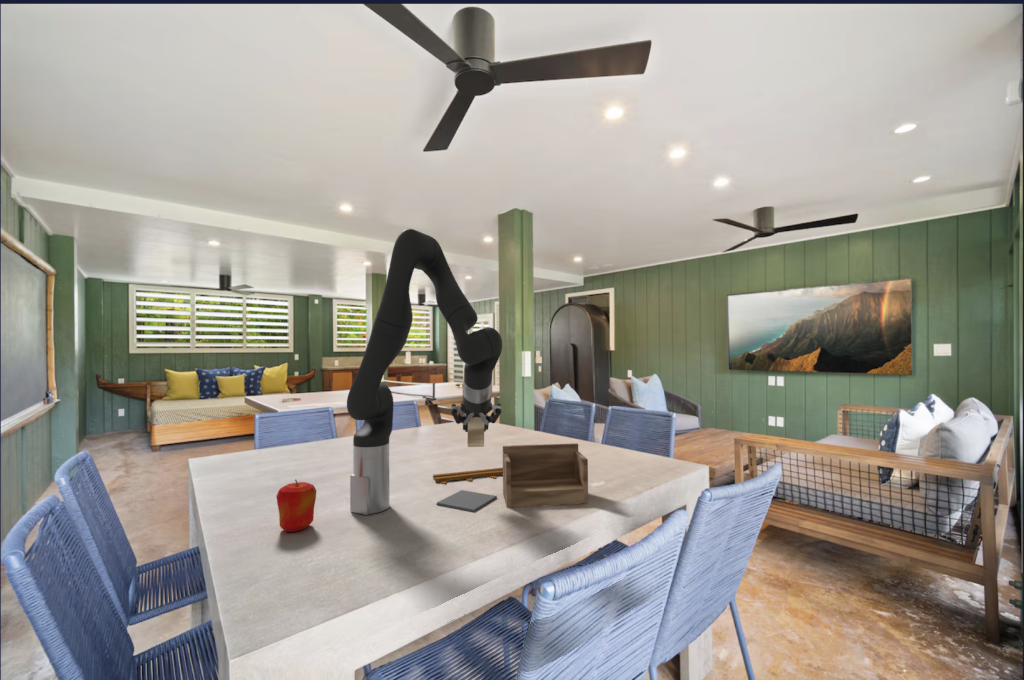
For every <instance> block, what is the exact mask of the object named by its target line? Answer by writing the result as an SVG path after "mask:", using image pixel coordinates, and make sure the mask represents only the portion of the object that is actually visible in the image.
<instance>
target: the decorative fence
mask: <svg viewBox="0 0 1024 680" xmlns="http://www.w3.org/2000/svg"><path fill="white" fill-rule="evenodd" d="M500 475H502V476H503V467H495V468H485V469H478V470H467V471H456V472H449V473H448V472H445V473H439V474H432V478H433V480H434V481H435V483H437V482H439V481H440V482H439V483H440V484H441V485H443V484H445V485H447V481H455V480H463V479H465V480H466V482H468V483H469V482H470V481H471V482H472V481H473V478H479V477H480V478H481V477H489V478H490V477H491V479H492V478H493V480H495V479H497V476H500Z"/></svg>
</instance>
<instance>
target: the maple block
mask: <svg viewBox="0 0 1024 680" xmlns="http://www.w3.org/2000/svg"><path fill="white" fill-rule="evenodd" d="M466 441H467V448H476V447H478V448H483V447H485V432H484V422H483V421H482V419H481V417H474V418H471V420H470V421H469V422H468V432H467V440H466Z"/></svg>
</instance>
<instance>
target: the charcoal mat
mask: <svg viewBox="0 0 1024 680" xmlns="http://www.w3.org/2000/svg"><path fill="white" fill-rule="evenodd" d="M495 499H498V498H497V495H494V494H493V495H492V494H487V493H481V492H476V491H469V490H463V489H461V490H458V491H457V492H455V493H453V494H451V495H449V496H447V497H445V498H443V499H441V500H439V501H437V502H436V506H440V505H441V506H442V507H445V506H446V507H447V508H452V509H456V510H460V511H461V510H462V511H466V512H467V511H468V512H472V513H474V512H476V511H478V510H480V509H481V508H483V507H485V506H486V505H488V504H489V503H491V502H493V501H494V500H495ZM484 505H485V506H484Z"/></svg>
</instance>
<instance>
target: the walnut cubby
mask: <svg viewBox="0 0 1024 680" xmlns="http://www.w3.org/2000/svg"><path fill="white" fill-rule="evenodd" d="M502 468H503V474H502V495H503V499H504V503H505V506H506V508H522V507H523V508H525V507H524V506H526V507H543V506H542V505H547V506H559V505H558V504H568V505H582V504H581V503H588V504H589V460H588V458H587V457H586V456H585V455H583V454H582V453H581V452H580V451H579V443H553V444H552V443H551V444H549V443H548V444H544V443H543V444H521V445H520V444H519V445H516V444H515V445H502Z"/></svg>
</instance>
